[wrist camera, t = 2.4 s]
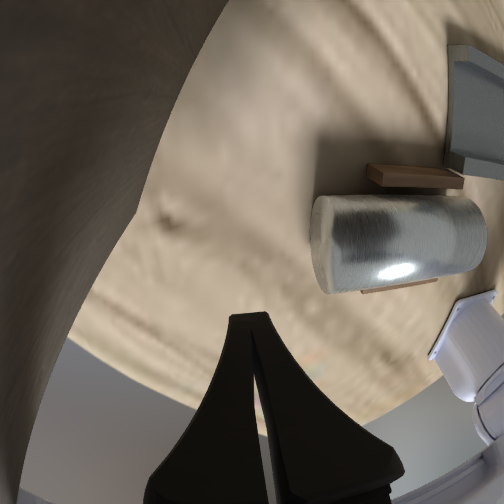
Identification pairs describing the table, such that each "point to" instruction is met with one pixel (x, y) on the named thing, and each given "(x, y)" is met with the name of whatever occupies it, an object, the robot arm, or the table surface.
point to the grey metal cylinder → (393, 239)
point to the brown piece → (411, 178)
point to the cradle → (475, 113)
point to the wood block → (74, 168)
